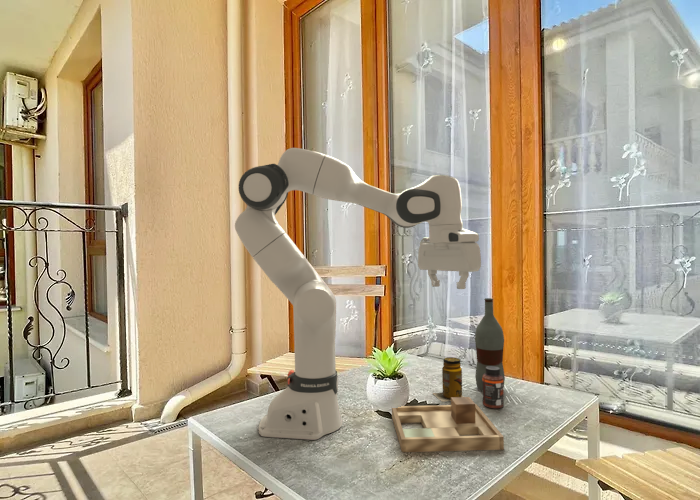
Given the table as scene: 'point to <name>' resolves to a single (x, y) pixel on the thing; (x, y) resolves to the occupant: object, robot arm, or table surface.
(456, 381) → the condiment
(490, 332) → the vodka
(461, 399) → the walnut block
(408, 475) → the table surface
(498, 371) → the supplement bottle
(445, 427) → the wooden compartment tray
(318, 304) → the robot arm
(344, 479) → the table surface
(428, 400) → the table surface
